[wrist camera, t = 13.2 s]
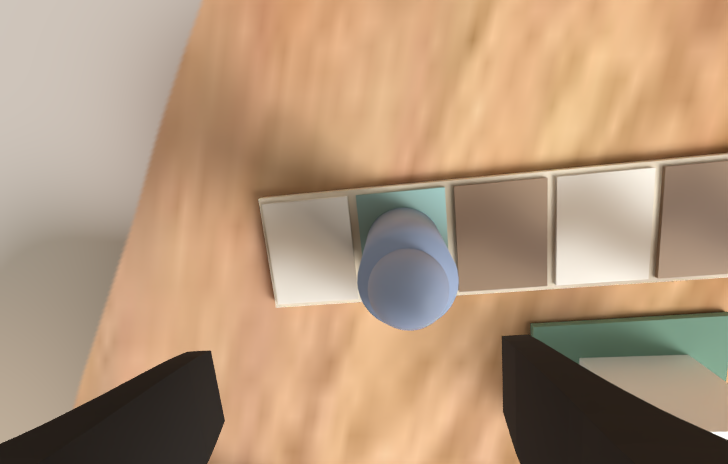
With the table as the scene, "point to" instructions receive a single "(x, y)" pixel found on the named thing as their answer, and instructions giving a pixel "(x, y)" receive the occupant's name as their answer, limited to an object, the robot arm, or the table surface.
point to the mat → (642, 338)
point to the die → (670, 386)
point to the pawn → (406, 270)
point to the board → (516, 228)
